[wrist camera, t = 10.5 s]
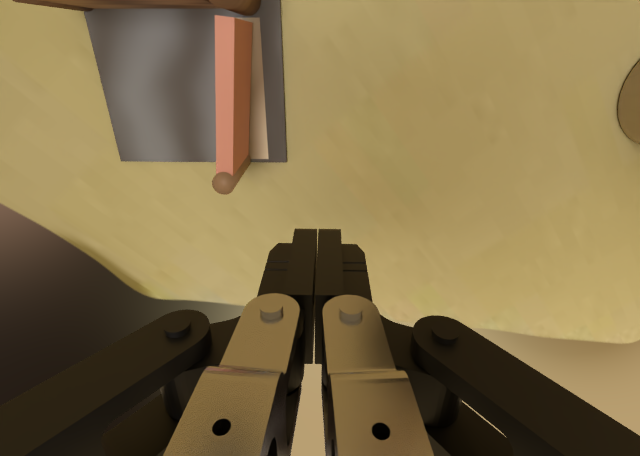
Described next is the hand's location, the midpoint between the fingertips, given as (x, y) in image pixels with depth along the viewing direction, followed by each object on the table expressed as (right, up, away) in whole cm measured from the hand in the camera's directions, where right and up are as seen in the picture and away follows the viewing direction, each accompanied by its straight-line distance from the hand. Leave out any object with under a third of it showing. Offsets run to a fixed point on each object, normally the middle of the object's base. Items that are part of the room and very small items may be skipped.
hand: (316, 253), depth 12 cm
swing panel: (-6, +11, +18) cm, 22 cm away
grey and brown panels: (-11, +14, +18) cm, 25 cm away
